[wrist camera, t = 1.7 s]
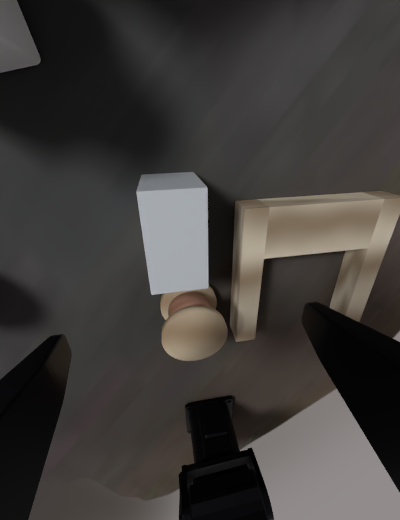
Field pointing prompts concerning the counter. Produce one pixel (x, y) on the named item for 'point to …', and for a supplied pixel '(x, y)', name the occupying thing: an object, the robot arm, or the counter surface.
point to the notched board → (310, 246)
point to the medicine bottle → (15, 39)
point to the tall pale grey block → (174, 231)
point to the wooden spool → (192, 324)
